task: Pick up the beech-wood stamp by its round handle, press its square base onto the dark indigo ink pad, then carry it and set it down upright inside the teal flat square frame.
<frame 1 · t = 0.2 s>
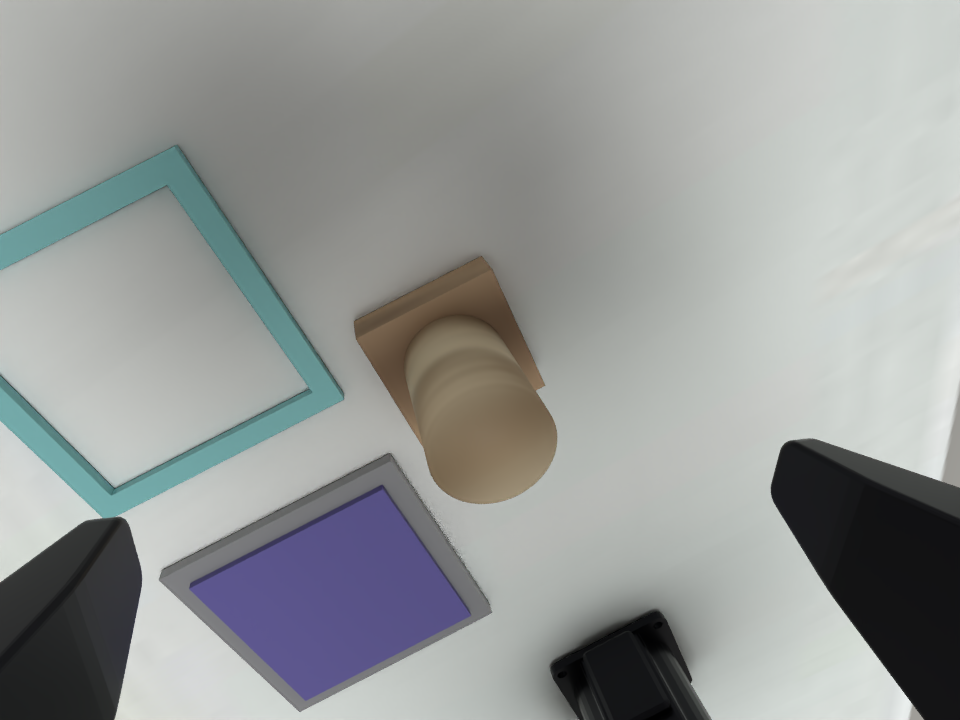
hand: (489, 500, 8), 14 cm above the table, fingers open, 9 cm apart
teal flat square frame: (139, 350, 20), on the table
stamp: (447, 345, 23), on the table
ink pad: (340, 589, 26), on the table
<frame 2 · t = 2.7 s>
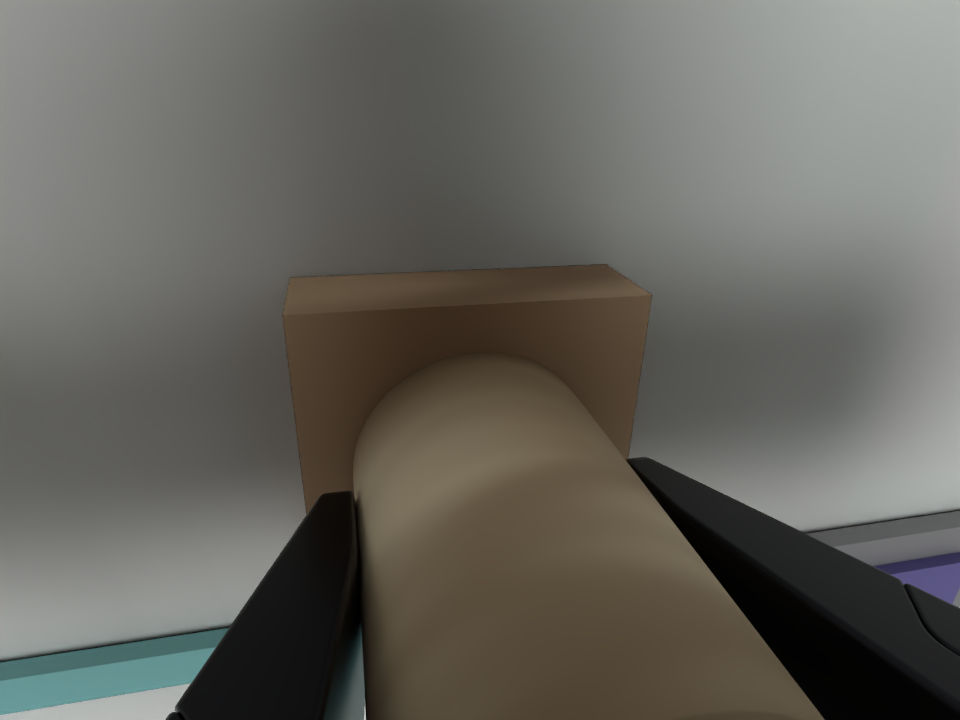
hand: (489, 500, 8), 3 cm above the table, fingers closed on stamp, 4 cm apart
stamp: (456, 410, 11), on the table, touching gripper
ink pad: (755, 685, 16), on the table
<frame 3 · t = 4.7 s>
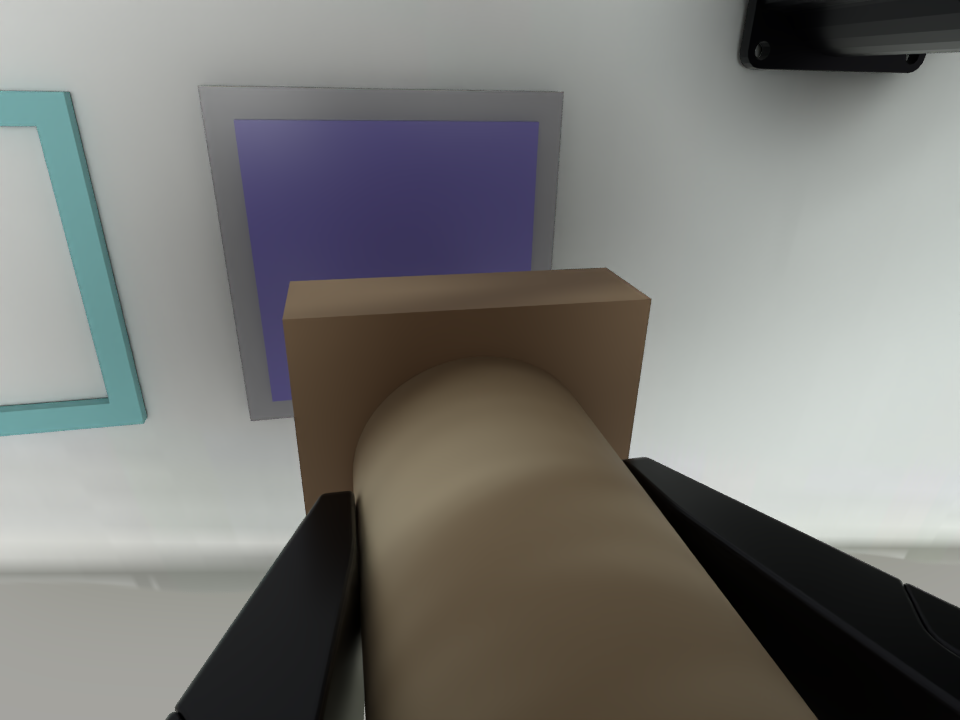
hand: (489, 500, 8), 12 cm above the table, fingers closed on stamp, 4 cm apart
stamp: (455, 413, 11), point 10 cm above the table, touching gripper
ink pad: (397, 261, 19), on the table
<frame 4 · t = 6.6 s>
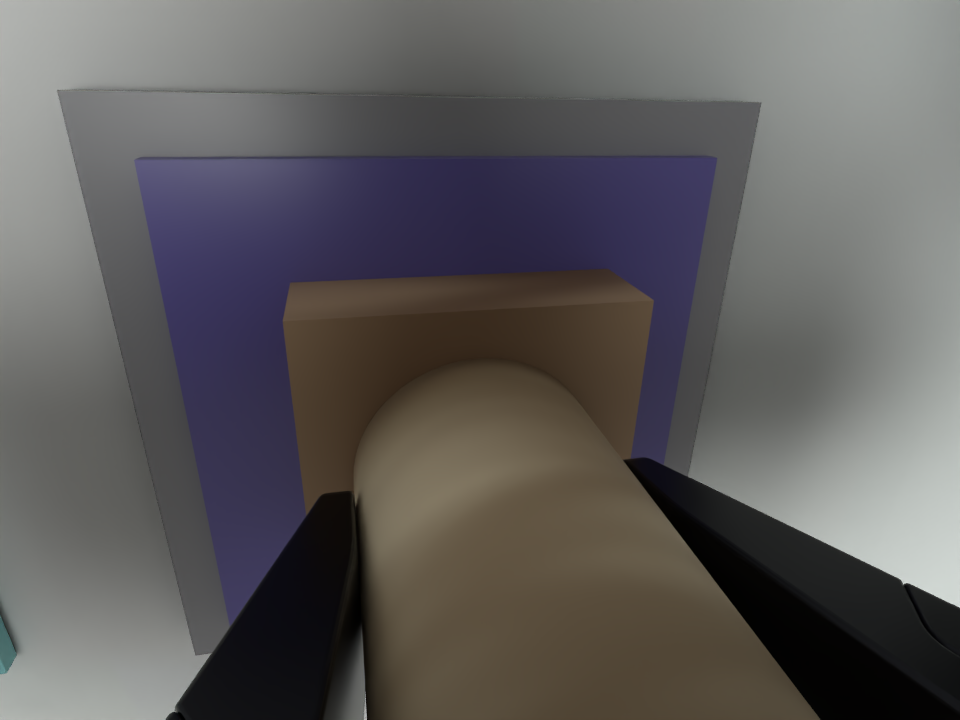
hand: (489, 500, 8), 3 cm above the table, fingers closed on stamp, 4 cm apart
stamp: (456, 415, 11), point 1 cm above the table, touching gripper, ink pad
ink pad: (445, 393, 11), on the table
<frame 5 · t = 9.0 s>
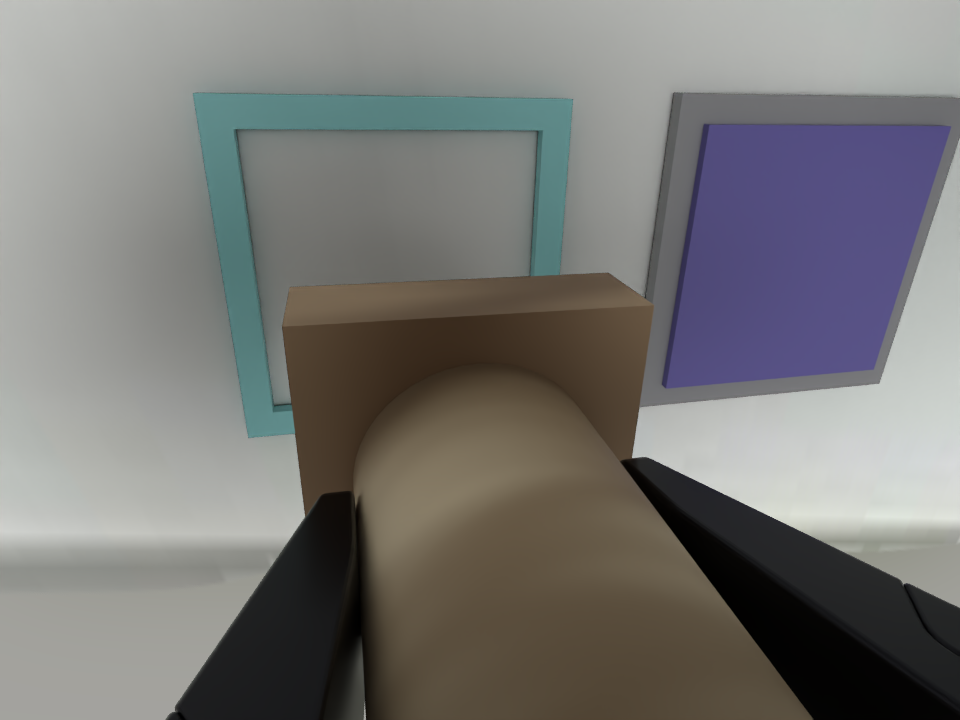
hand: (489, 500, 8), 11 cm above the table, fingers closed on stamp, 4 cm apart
teal flat square frame: (400, 274, 18), on the table
stamp: (456, 419, 10), point 8 cm above the table, touching gripper
ink pad: (786, 256, 21), on the table
when the fingers open (4 cm above the table, at t = 10.8 s): stamp drops 2 cm, resting in teal flat square frame.
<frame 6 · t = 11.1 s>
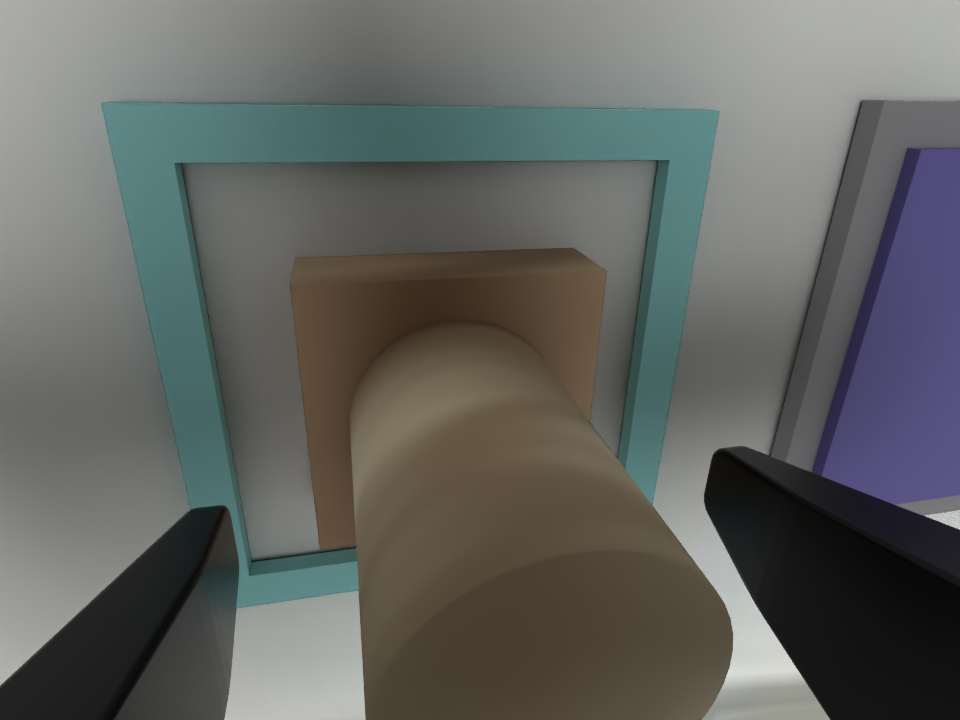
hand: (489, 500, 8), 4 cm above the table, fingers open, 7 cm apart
teal flat square frame: (440, 374, 12), on the table
stamp: (441, 377, 12), resting in teal flat square frame
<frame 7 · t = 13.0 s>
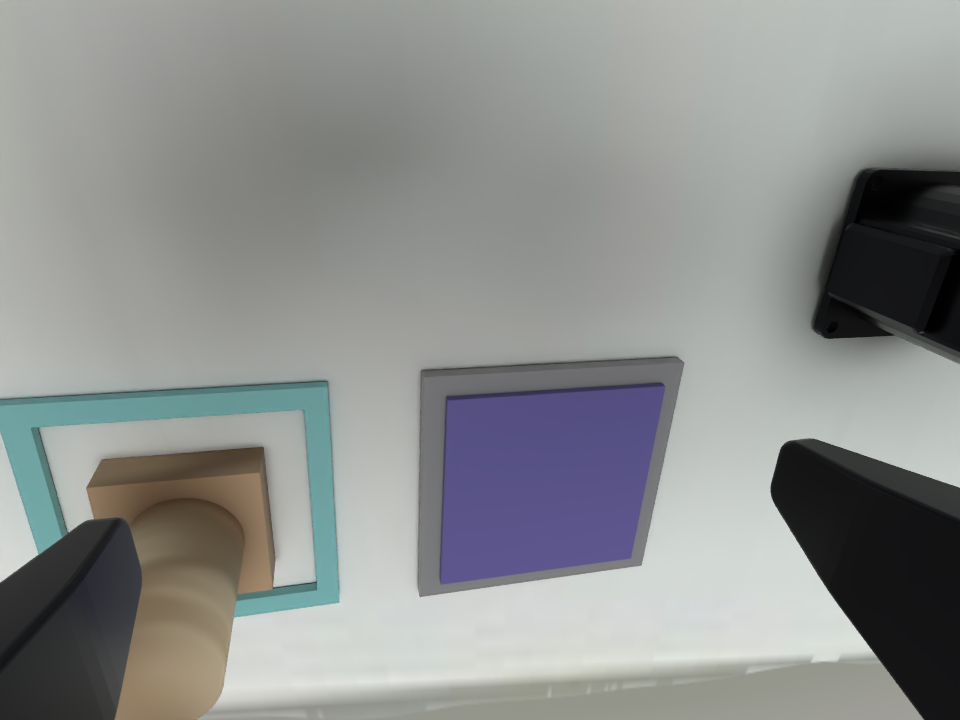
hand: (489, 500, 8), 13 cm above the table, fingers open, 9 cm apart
teal flat square frame: (193, 511, 21), on the table
stamp: (195, 512, 22), resting in teal flat square frame
ink pad: (543, 476, 25), on the table
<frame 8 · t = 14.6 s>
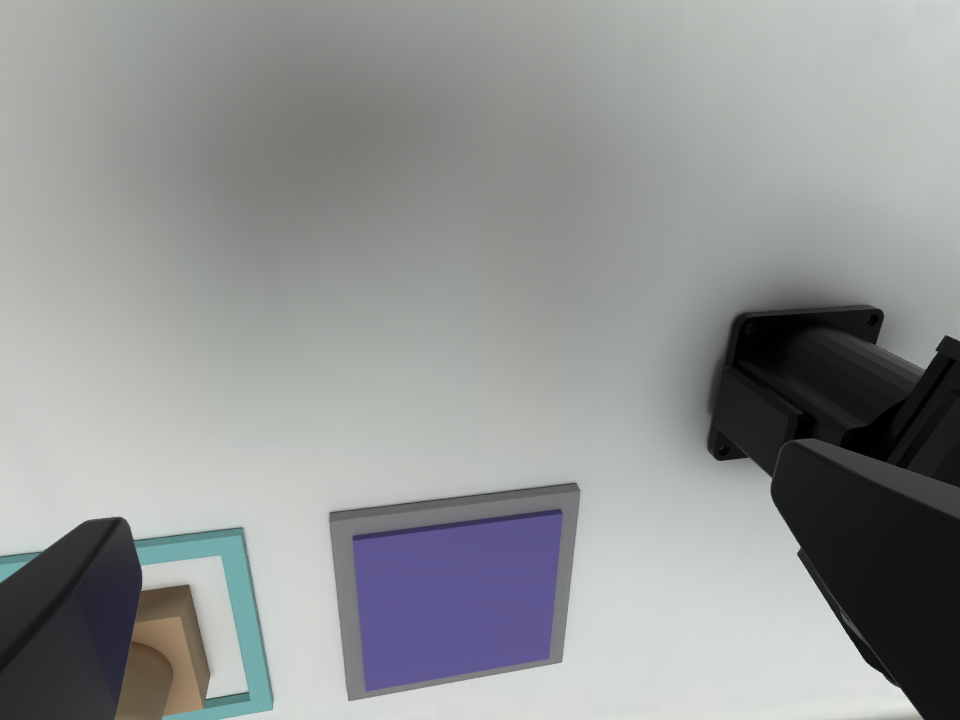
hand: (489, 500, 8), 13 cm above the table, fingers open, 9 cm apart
teal flat square frame: (130, 641, 24), on the table
stamp: (132, 641, 24), resting in teal flat square frame
ink pad: (457, 591, 27), on the table
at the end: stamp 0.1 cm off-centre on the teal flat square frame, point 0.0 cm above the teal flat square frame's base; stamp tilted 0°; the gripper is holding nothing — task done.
